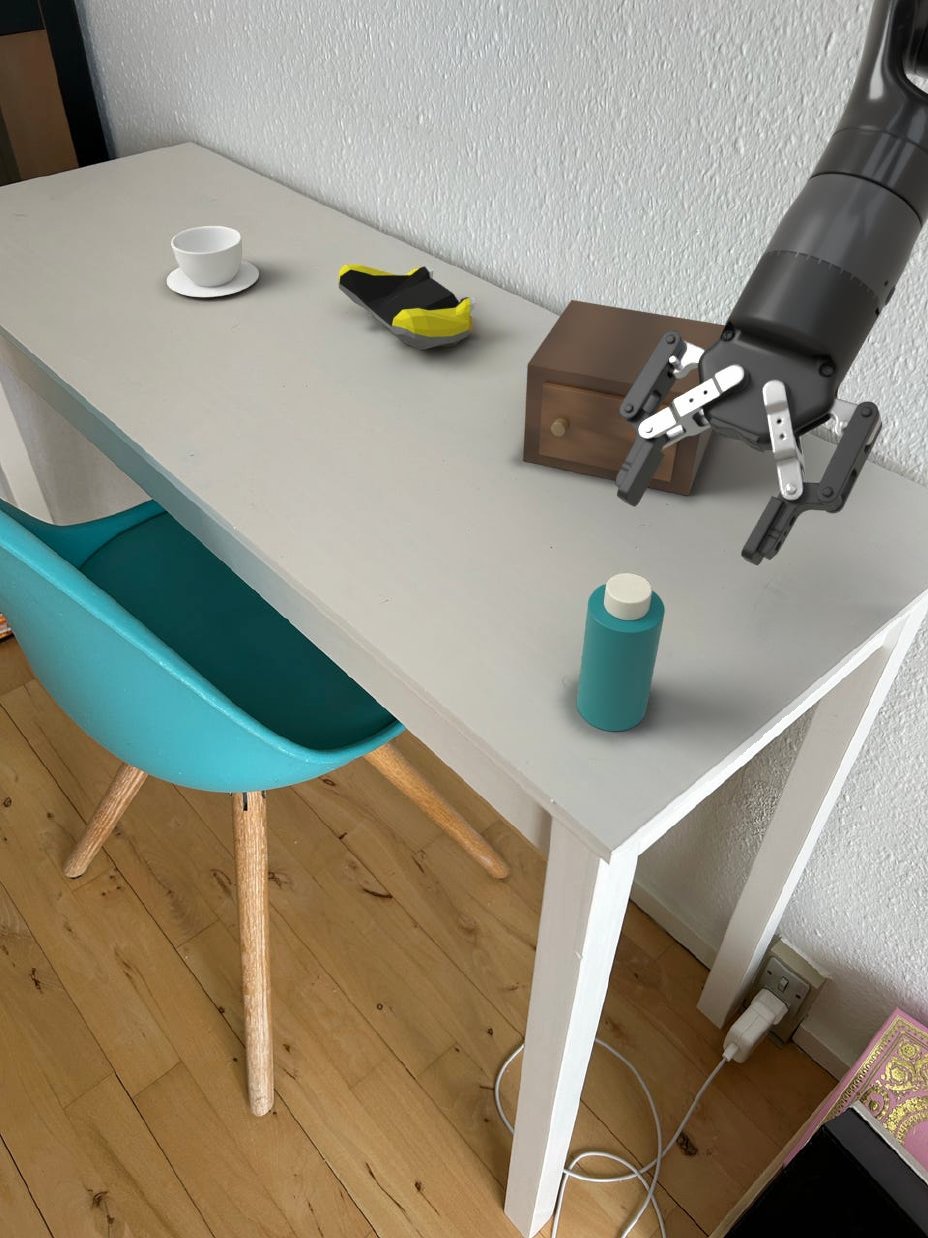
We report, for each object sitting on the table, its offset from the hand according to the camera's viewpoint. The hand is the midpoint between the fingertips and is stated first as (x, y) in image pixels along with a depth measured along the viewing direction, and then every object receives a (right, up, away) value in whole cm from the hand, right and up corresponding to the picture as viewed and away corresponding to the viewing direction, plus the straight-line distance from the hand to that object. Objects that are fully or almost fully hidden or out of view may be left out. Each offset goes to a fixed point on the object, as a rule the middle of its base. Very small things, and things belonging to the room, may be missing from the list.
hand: (685, 530), depth 58 cm
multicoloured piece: (-19, +24, +41) cm, 51 cm away
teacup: (-41, +32, +50) cm, 72 cm away
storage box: (0, +10, +26) cm, 28 cm away
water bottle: (-4, -11, +4) cm, 12 cm away
